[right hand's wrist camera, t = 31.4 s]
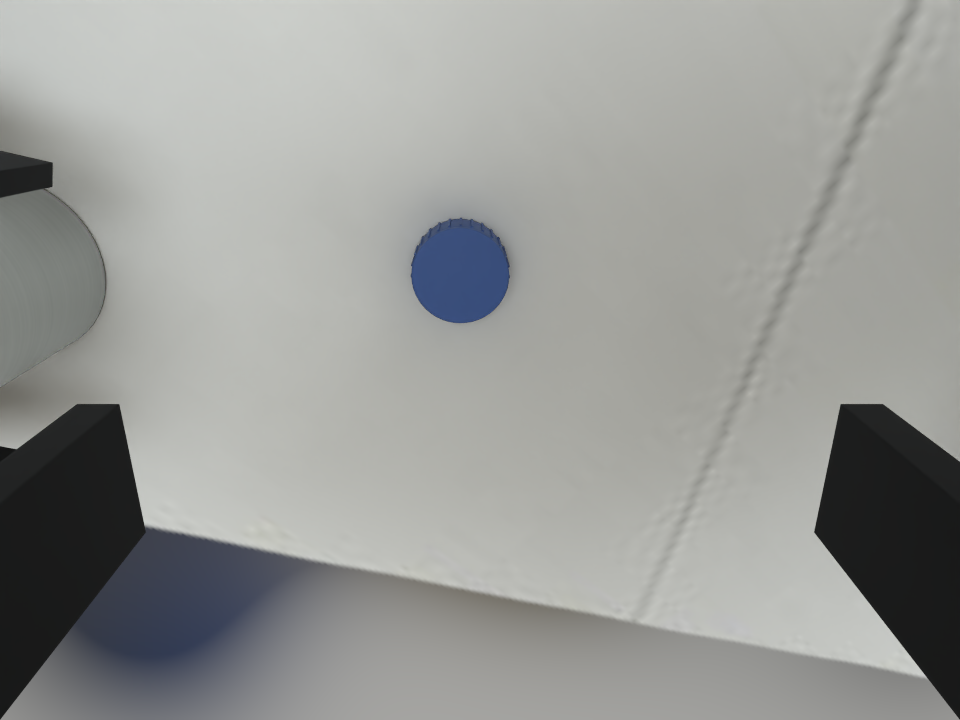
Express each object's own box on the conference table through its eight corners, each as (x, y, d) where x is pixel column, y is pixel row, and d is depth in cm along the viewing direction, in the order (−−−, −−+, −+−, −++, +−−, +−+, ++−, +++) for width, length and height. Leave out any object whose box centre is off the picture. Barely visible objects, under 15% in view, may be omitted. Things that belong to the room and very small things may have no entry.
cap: (443, 325, 29) (442, 341, 27) (396, 246, 28) (390, 257, 26) (523, 281, 28) (527, 295, 26) (478, 199, 27) (479, 207, 25)
